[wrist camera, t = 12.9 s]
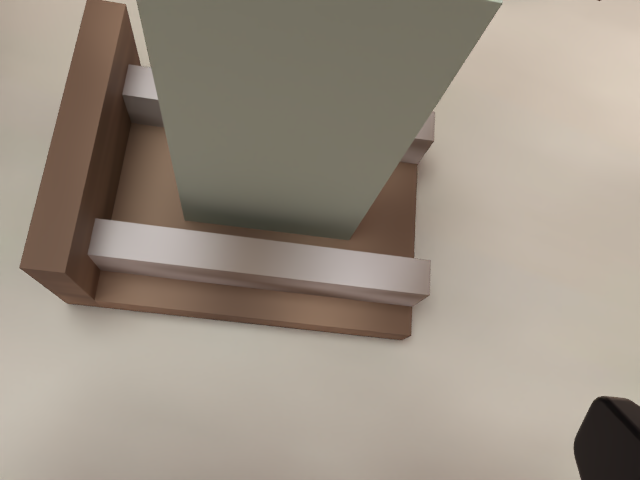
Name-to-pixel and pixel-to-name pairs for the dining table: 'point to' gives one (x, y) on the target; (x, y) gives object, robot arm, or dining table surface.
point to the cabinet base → (197, 237)
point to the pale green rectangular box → (299, 101)
